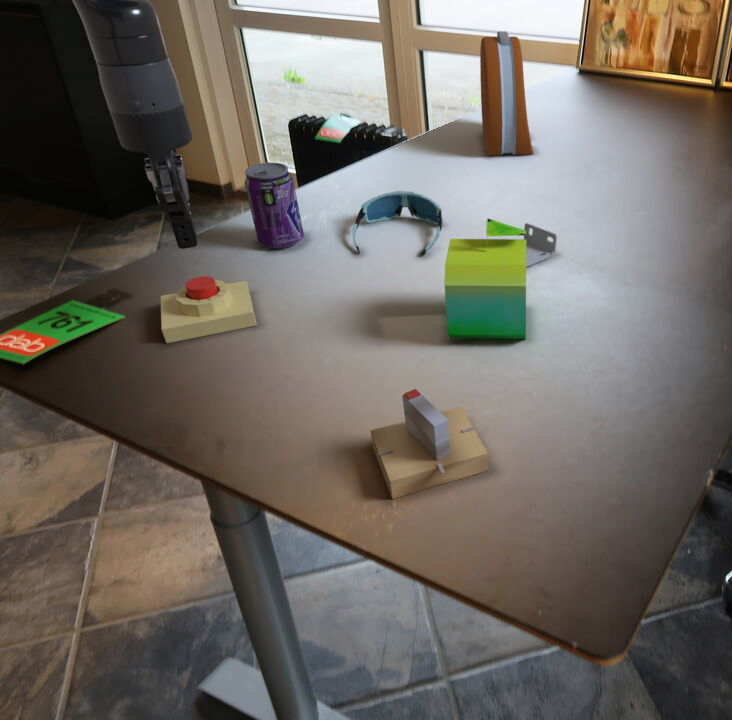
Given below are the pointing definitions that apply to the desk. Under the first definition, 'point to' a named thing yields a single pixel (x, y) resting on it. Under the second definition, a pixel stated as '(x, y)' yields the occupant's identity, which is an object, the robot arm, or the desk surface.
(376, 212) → the sunglasses
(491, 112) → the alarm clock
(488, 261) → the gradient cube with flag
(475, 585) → the desk surface
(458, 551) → the desk surface
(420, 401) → the upright gray plate
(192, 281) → the release button
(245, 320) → the box
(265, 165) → the beverage can
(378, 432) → the block
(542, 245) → the bracket
